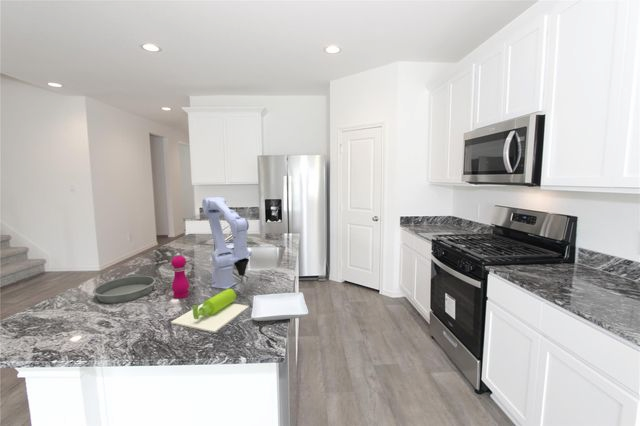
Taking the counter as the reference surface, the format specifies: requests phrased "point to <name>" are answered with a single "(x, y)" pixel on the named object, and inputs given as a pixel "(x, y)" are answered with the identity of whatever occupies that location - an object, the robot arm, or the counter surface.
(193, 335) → the counter surface
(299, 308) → the salad plate
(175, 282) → the pepper mill
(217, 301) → the soap dispenser
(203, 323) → the mat
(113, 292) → the cake pan
